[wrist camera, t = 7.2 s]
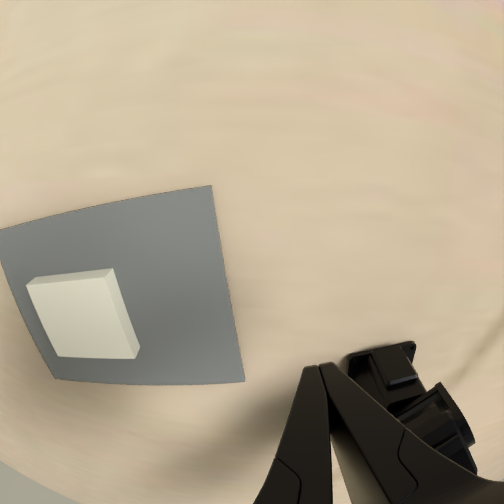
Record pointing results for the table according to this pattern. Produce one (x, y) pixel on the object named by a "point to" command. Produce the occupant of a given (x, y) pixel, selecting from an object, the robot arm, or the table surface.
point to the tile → (84, 314)
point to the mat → (138, 285)
